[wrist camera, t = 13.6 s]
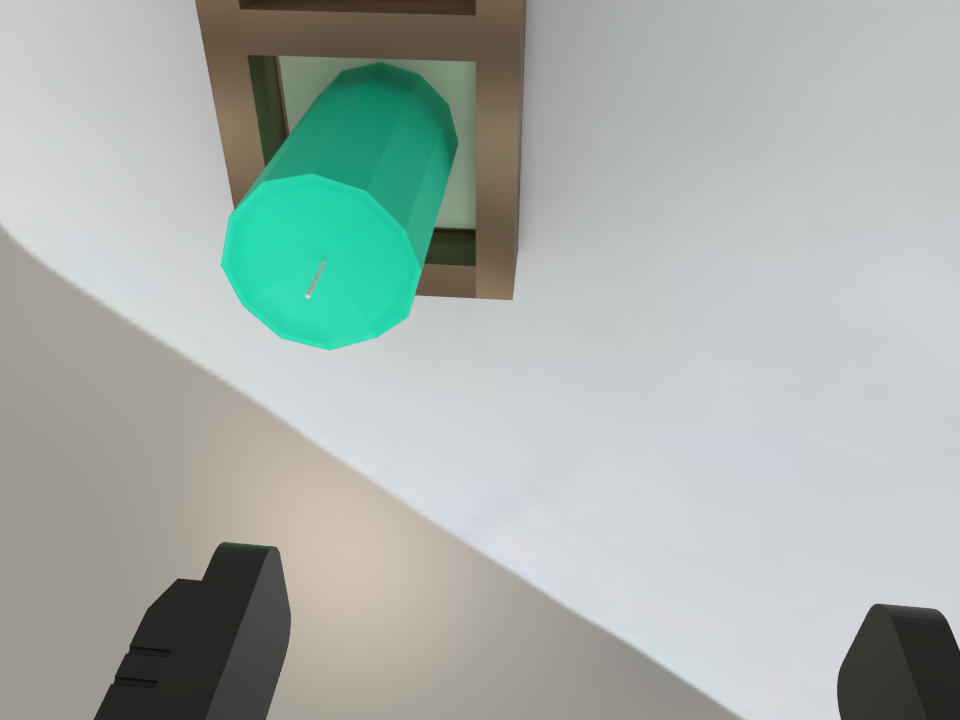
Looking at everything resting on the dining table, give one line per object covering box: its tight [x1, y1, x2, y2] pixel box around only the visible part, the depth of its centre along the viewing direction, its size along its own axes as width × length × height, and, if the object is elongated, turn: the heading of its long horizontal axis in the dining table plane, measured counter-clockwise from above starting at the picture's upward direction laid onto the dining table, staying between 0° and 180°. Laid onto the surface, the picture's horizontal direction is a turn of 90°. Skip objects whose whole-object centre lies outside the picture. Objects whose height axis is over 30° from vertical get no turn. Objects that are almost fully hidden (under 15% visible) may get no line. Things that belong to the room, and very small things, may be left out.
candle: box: [221, 62, 459, 350], centre depth 28 cm, size 6×6×12 cm
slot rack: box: [195, 0, 526, 300], centre depth 30 cm, size 20×11×4 cm, turn 0°
